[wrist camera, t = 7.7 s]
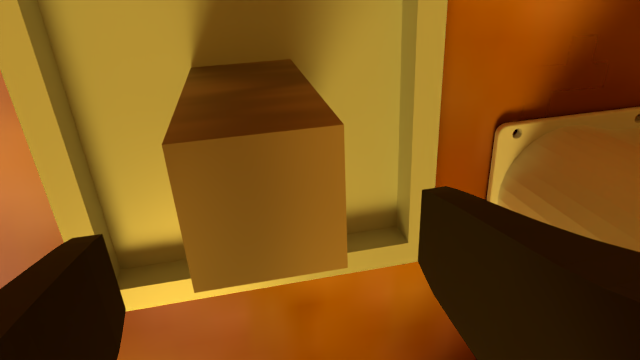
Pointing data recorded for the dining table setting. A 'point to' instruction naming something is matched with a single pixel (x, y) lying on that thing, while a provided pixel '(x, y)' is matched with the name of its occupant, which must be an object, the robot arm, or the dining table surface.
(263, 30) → the cream square frame
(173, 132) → the walnut peg
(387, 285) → the dining table surface
